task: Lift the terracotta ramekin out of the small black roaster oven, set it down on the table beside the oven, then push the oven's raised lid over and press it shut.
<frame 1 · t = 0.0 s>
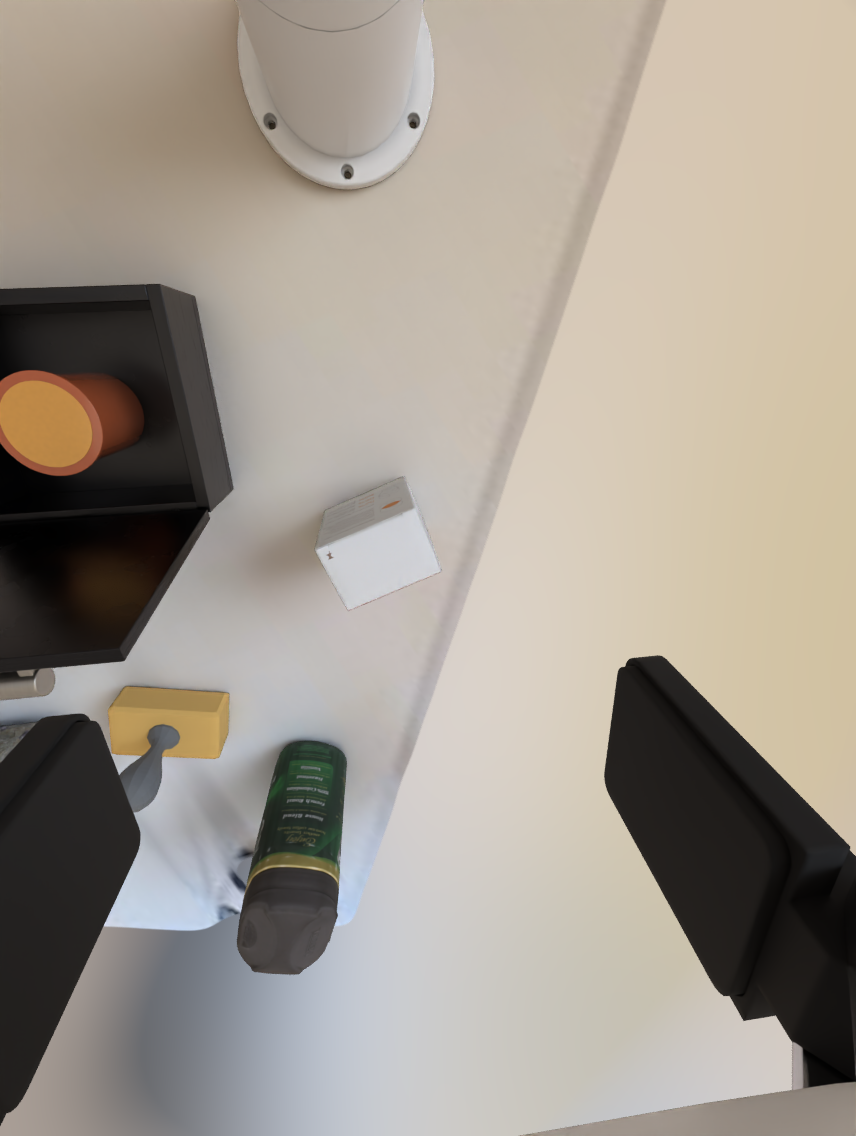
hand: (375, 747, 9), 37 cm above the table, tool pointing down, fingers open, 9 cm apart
oven: (107, 405, 39), on the table
ramekin: (103, 413, 39), point 1 cm above the table, touching oven
oven lid: (39, 605, 30), point 15 cm above the table, hinge at 98.0°
small box: (376, 518, 46), on the table
rubber stamp: (178, 709, 51), on the table
mineral rock: (15, 750, 51), on the table
coffee jar: (309, 769, 56), on the table
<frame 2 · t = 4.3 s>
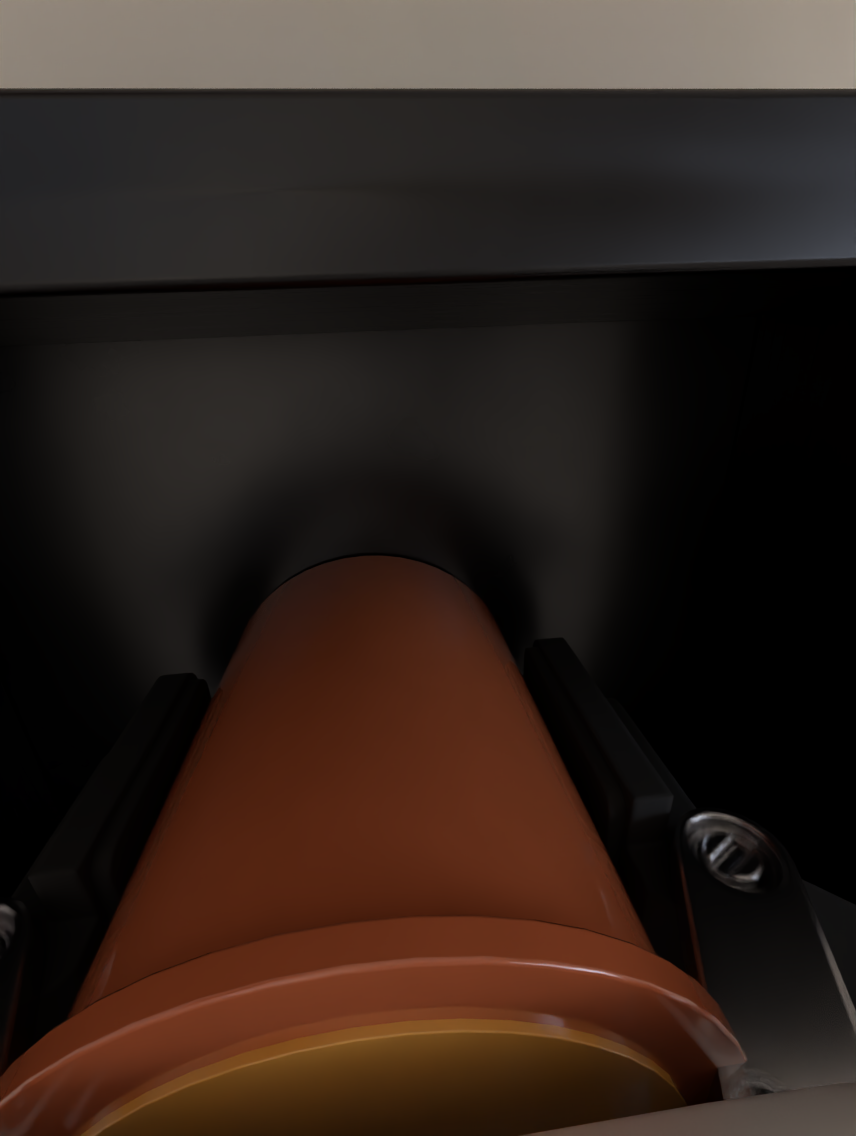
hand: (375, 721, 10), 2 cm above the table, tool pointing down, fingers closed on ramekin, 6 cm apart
oven: (372, 638, 12), on the table
ramekin: (374, 678, 11), point 1 cm above the table, touching gripper, oven
when the fingers open (1 cm above the table, at t = 13.9 s): ramekin stays where it is, on the table.
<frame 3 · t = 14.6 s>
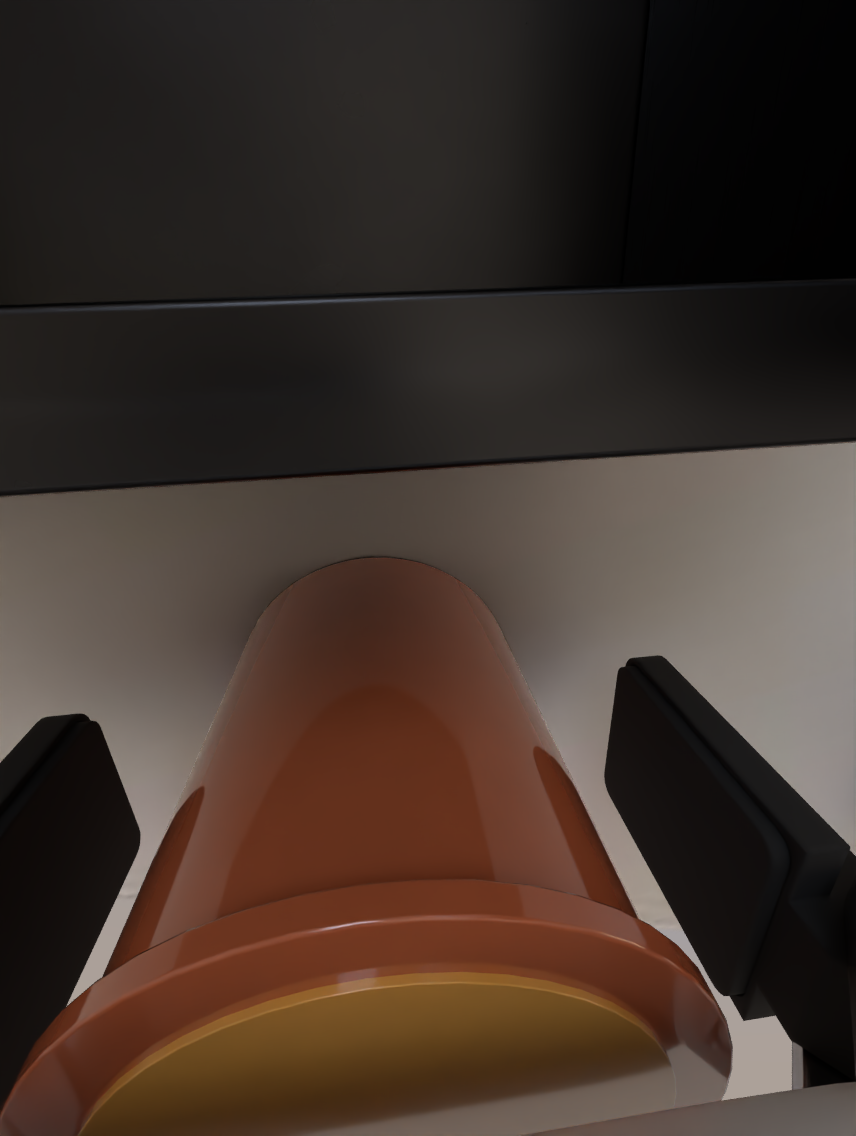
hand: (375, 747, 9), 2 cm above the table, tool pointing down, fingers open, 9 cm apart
ramekin: (378, 676, 11), on the table
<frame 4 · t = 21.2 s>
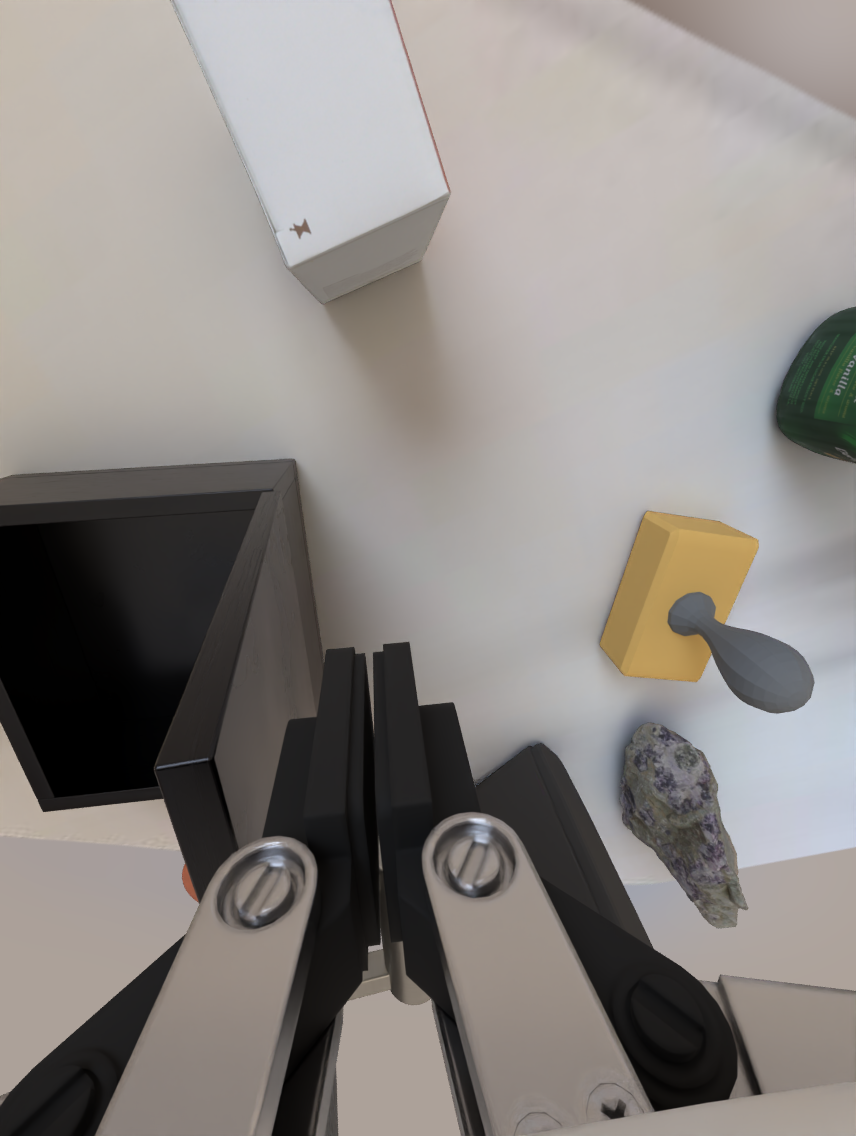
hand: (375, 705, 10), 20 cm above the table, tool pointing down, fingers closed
oven: (191, 603, 30), on the table
oven lid: (345, 773, 18), point 15 cm above the table, hinge at 95.7°, touching gripper
small box: (336, 194, 23), on the table
rubber stamp: (655, 585, 34), on the table
card reader: (505, 779, 39), on the table
mineral rock: (661, 770, 41), on the table
coffee jar: (844, 390, 30), on the table
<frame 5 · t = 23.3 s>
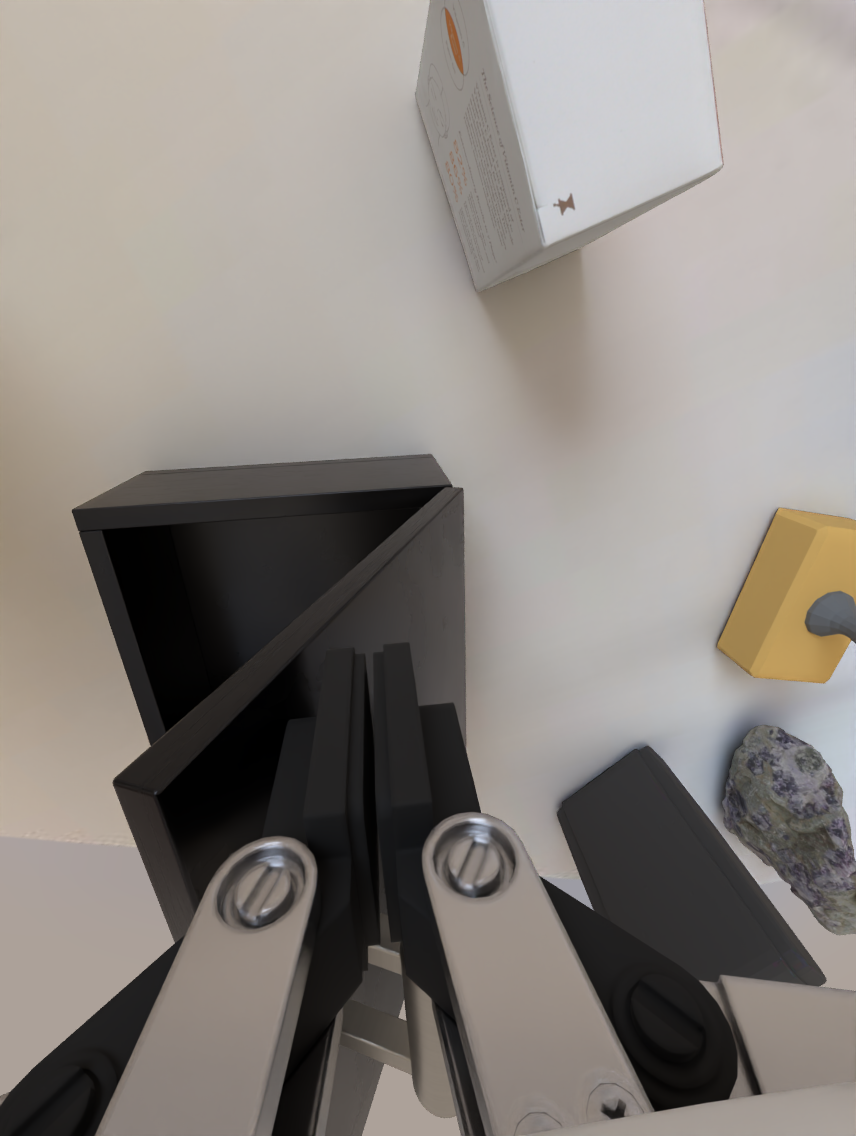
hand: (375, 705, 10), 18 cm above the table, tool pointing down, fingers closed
oven: (312, 604, 29), on the table
oven lid: (448, 806, 16), point 15 cm above the table, hinge at 65.3°, touching gripper
small box: (501, 176, 22), on the table
rubber stamp: (777, 584, 33), on the table
card reader: (606, 783, 38), on the table
mineral rock: (761, 772, 40), on the table
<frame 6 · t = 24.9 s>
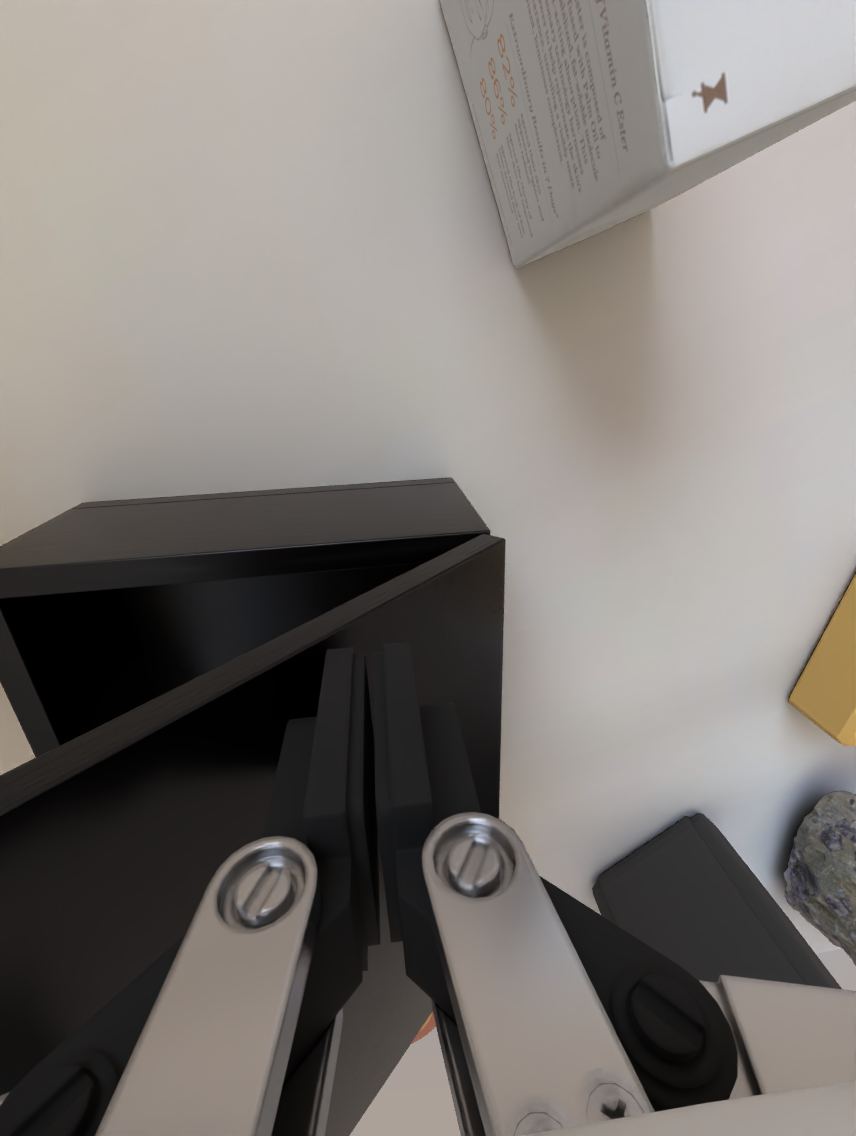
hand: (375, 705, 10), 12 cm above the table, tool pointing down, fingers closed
oven: (302, 662, 24), on the table
oven lid: (365, 1002, 11), point 14 cm above the table, hinge at 43.1°
small box: (550, 110, 17), on the table
card reader: (649, 853, 33), on the table
mineral rock: (827, 836, 34), on the table
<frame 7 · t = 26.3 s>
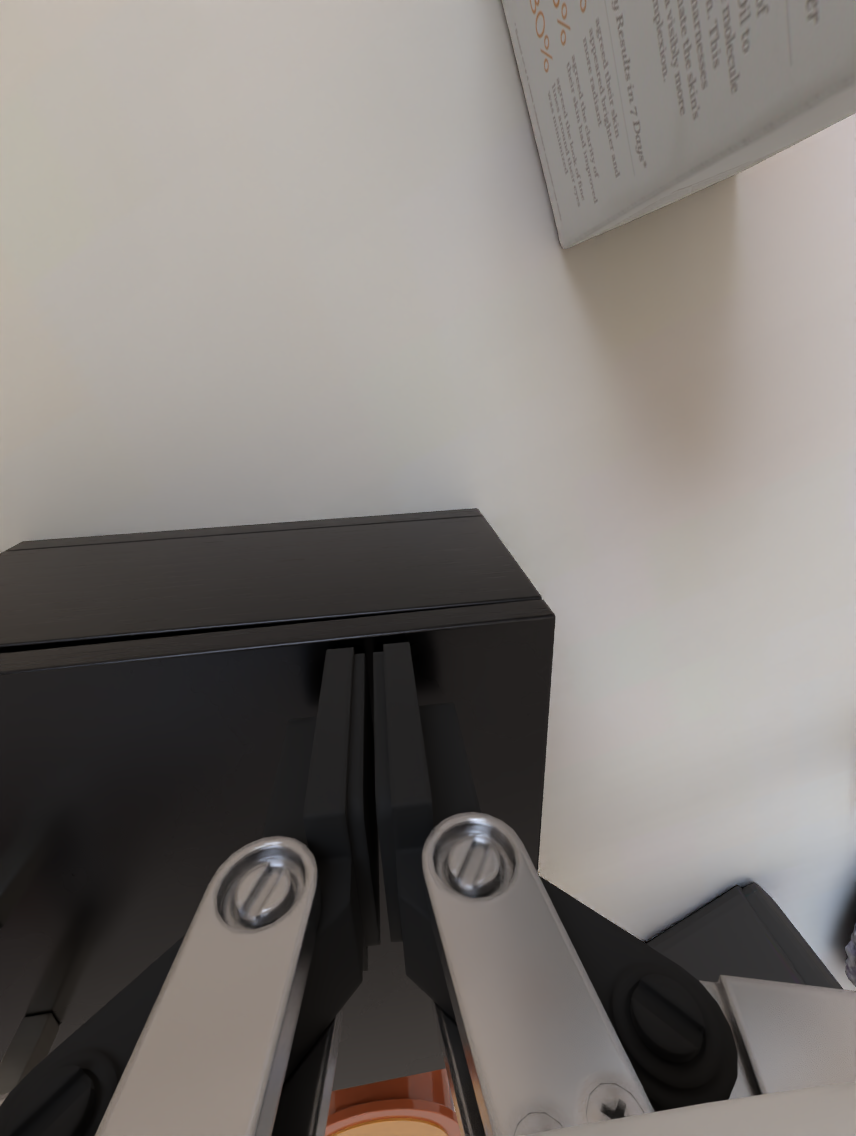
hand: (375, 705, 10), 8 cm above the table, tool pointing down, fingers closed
oven: (295, 724, 20), on the table
ramekin: (376, 941, 26), on the table
oven lid: (226, 1003, 11), point 9 cm above the table, hinge at 1.2°, touching gripper
small box: (613, 43, 13), on the table
card reader: (692, 923, 29), on the table
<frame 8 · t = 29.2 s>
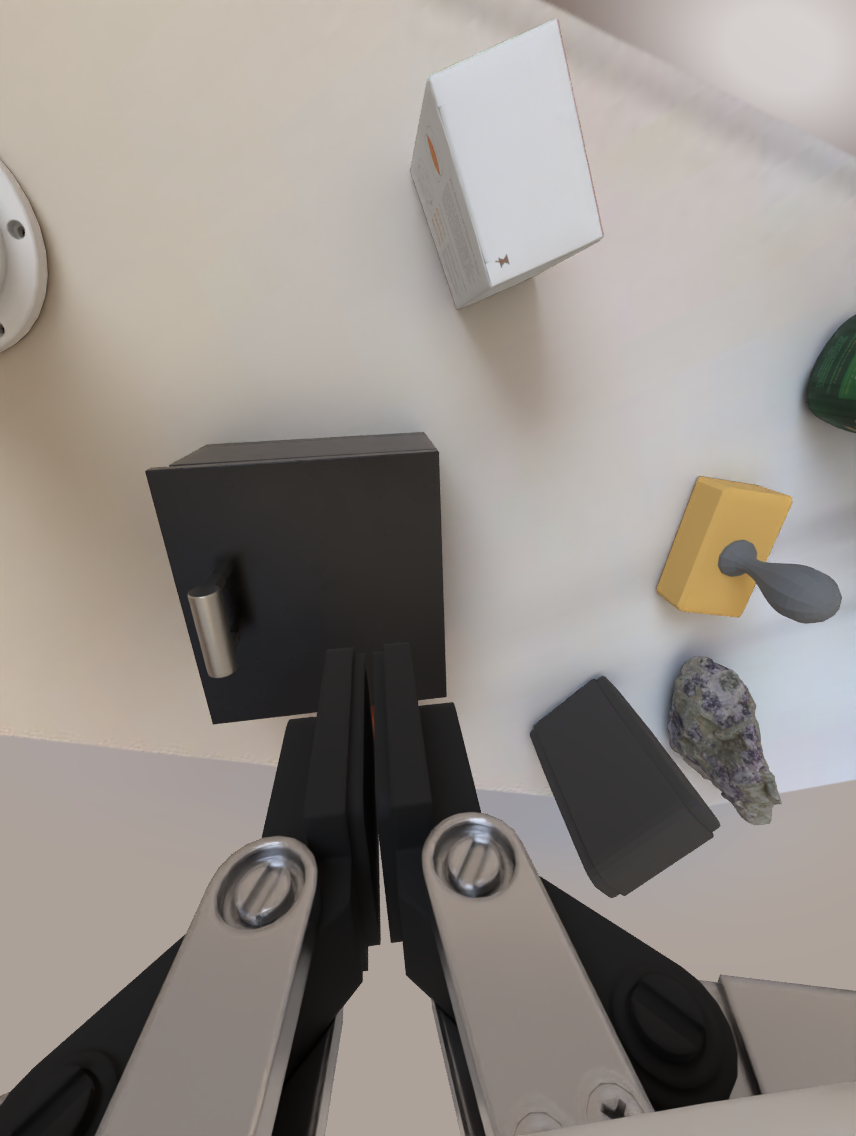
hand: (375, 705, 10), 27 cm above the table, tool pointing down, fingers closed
oven: (331, 552, 37), on the table
oven lid: (314, 610, 29), point 9 cm above the table, hinge at 1.2°
small box: (473, 225, 30), on the table
rubber stamp: (703, 539, 41), on the table
card reader: (571, 709, 46), on the table
mineral rock: (702, 703, 48), on the table
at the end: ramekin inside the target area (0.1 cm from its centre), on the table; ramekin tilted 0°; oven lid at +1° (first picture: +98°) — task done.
